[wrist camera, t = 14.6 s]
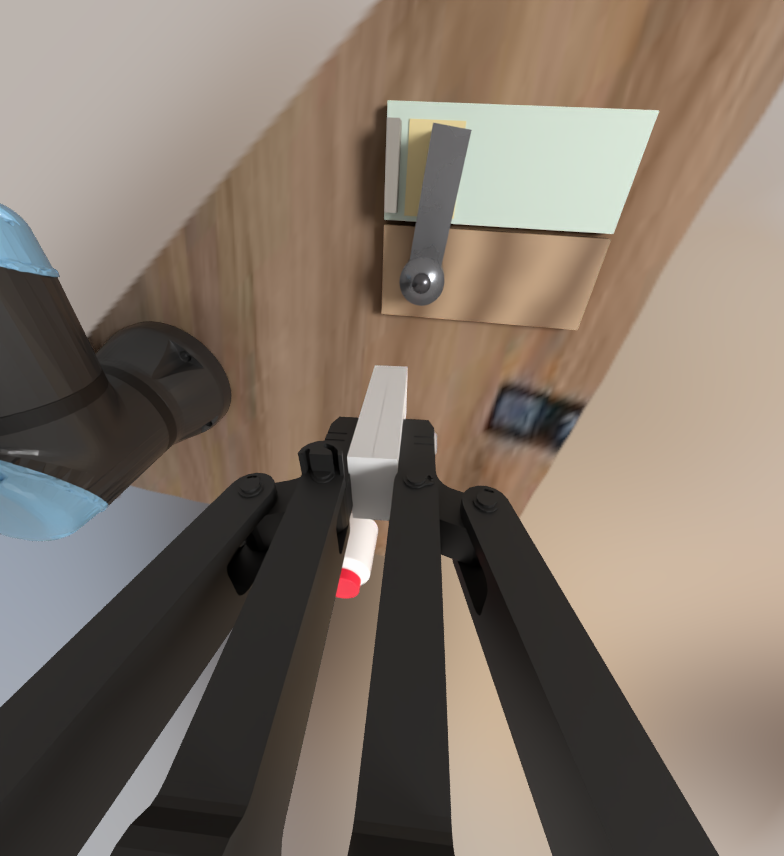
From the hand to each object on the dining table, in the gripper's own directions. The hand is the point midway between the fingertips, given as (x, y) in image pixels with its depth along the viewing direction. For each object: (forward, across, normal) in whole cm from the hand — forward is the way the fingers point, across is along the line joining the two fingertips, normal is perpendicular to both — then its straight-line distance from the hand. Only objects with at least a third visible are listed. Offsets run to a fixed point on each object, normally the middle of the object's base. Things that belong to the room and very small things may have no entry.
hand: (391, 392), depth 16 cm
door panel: (+22, +8, +10) cm, 25 cm away
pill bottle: (+23, -8, -39) cm, 46 cm away
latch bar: (+21, +2, +6) cm, 22 cm away
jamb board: (+22, +7, +1) cm, 23 cm away
